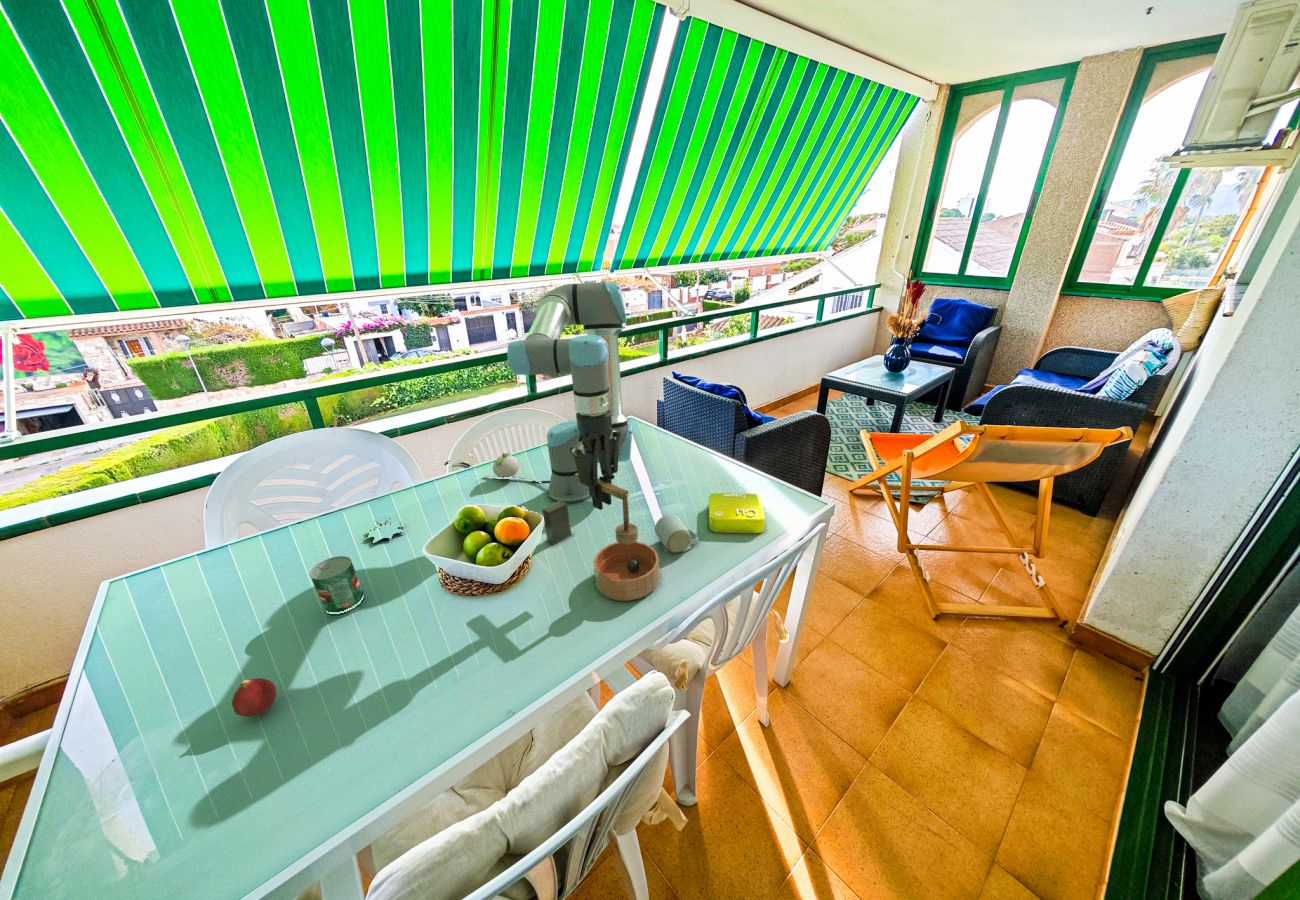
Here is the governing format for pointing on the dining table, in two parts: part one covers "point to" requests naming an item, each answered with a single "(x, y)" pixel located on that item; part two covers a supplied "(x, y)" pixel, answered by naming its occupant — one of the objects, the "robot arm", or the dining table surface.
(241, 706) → the red plum
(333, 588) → the canned tomato
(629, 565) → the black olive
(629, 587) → the bowl
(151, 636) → the dining table surface
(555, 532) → the dark upright slab
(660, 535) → the ceramic mug
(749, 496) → the element tile
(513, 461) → the decorative fruit
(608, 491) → the ladle
